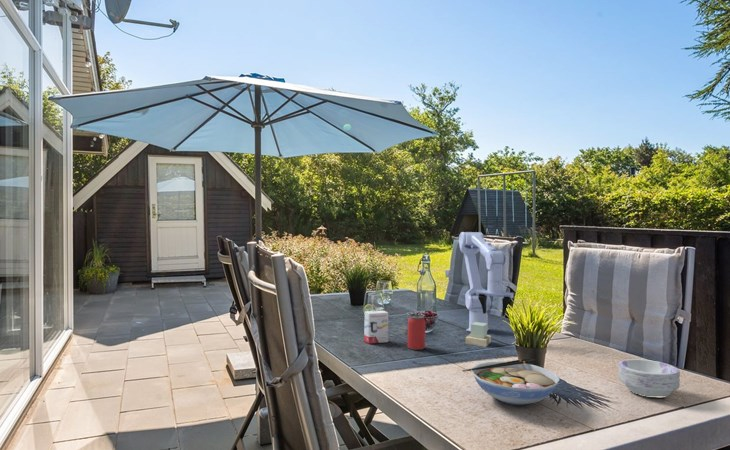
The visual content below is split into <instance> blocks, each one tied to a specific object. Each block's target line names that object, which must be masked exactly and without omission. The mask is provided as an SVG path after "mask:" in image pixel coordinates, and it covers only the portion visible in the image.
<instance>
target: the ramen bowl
mask: <svg viewBox="0 0 730 450" xmlns="http://www.w3.org/2000/svg"><path fill="white" fill-rule="evenodd" d="M530 363H531V364H530ZM532 363H536V359H532V358H531V357H525V358H521V359H514V360H510V361H507V360H498V361H497V360H496V361H495V360H494V361H485V362H482V363H478V364H476V365H475V366H473V367H472V368H468V369H463V370H461V371H462V372H464V373H465V372H472V375H473V377H474V379H475V381H476V383H477V384H478V386H479V387H480V388H481V390H483V391H484V392H486V394H488V395H489V396H490V397H491V398H494V399H497V400H499V401H501V402H503V403H505V404H507V405H511V406H512V405H513V406H525V405H528V404H534V403H538V402H541V401H542V400H545V399H547V397H549V395H550V394H552V392H553V391H554V389H556V387H557V386H558V384H559V383H560V380H561V379H560V377H559V376H558V375H557V374H556V373H555V372H554V371H551V370H549V369H547V368H545V367H541V366H539V365H535V364H532Z"/></svg>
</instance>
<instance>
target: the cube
mask: <svg viewBox="0 0 730 450" xmlns="http://www.w3.org/2000/svg"><path fill="white" fill-rule="evenodd" d="M487 328H488V327H487V323H480V322H474V323H472V324H471V332H470V334H471V337H475V338H481V339H484V338H485V337H486V336H487V335H488V331H487Z"/></svg>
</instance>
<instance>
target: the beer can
mask: <svg viewBox="0 0 730 450" xmlns="http://www.w3.org/2000/svg"><path fill="white" fill-rule="evenodd" d="M426 324H427V323H426V319H425V316H424V315H421V314H411V315H409V317H408V320H407V343H406V344H407V349H410V350H413V351H422V350H424V349H425V348H426Z"/></svg>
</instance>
